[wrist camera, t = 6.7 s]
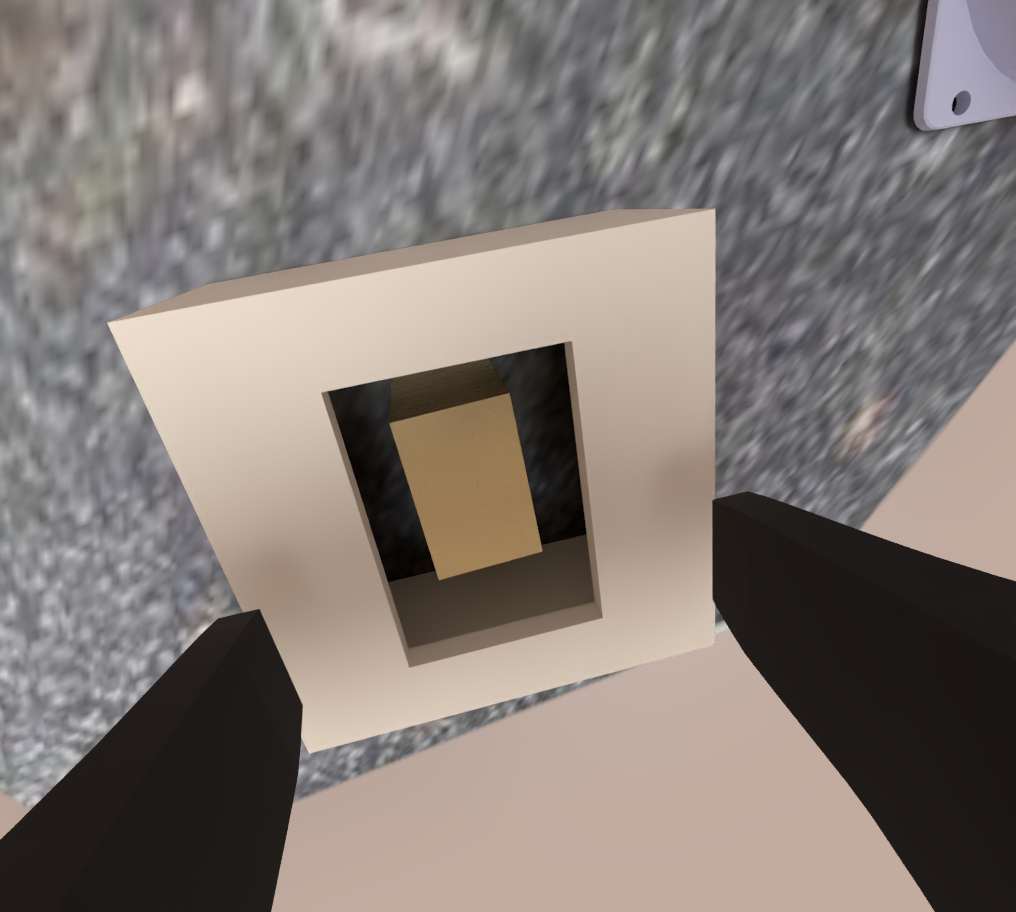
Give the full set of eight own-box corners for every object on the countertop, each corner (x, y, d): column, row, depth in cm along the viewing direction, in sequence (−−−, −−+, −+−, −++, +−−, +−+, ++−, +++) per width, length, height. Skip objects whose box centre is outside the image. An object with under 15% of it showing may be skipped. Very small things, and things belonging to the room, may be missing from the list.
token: (482, 348, 15) (509, 393, 11) (511, 478, 17) (542, 551, 13) (391, 371, 15) (389, 423, 11) (429, 499, 16) (438, 580, 13)
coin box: (613, 209, 14) (714, 208, 9) (636, 538, 18) (715, 644, 14) (207, 284, 13) (106, 322, 9) (332, 612, 17) (309, 753, 13)
